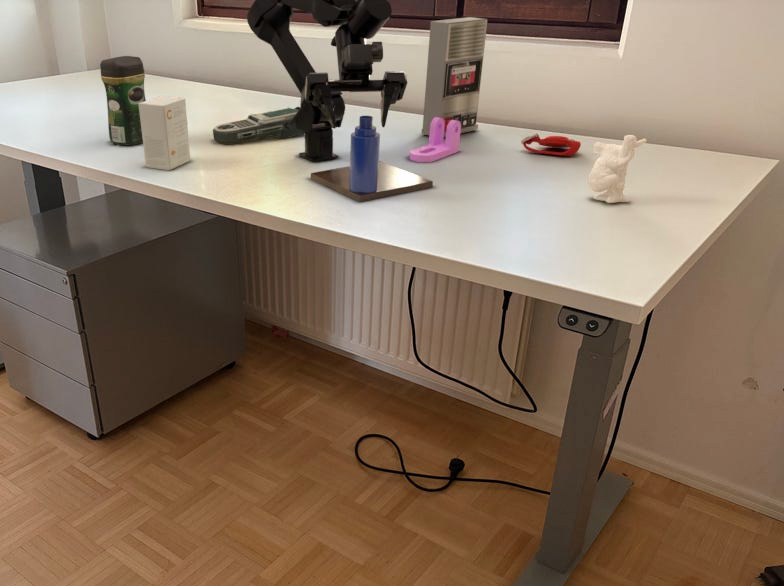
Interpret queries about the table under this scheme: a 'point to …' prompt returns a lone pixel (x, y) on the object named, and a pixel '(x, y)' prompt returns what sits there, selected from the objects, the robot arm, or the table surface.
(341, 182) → the walnut board
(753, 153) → the table surface
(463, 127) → the cassette tape recorder
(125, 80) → the coffee jar
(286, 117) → the communication device
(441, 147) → the bracket
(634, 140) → the white crouching figurine
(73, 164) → the table surface
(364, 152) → the blue bottle
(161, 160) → the small box
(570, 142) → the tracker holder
